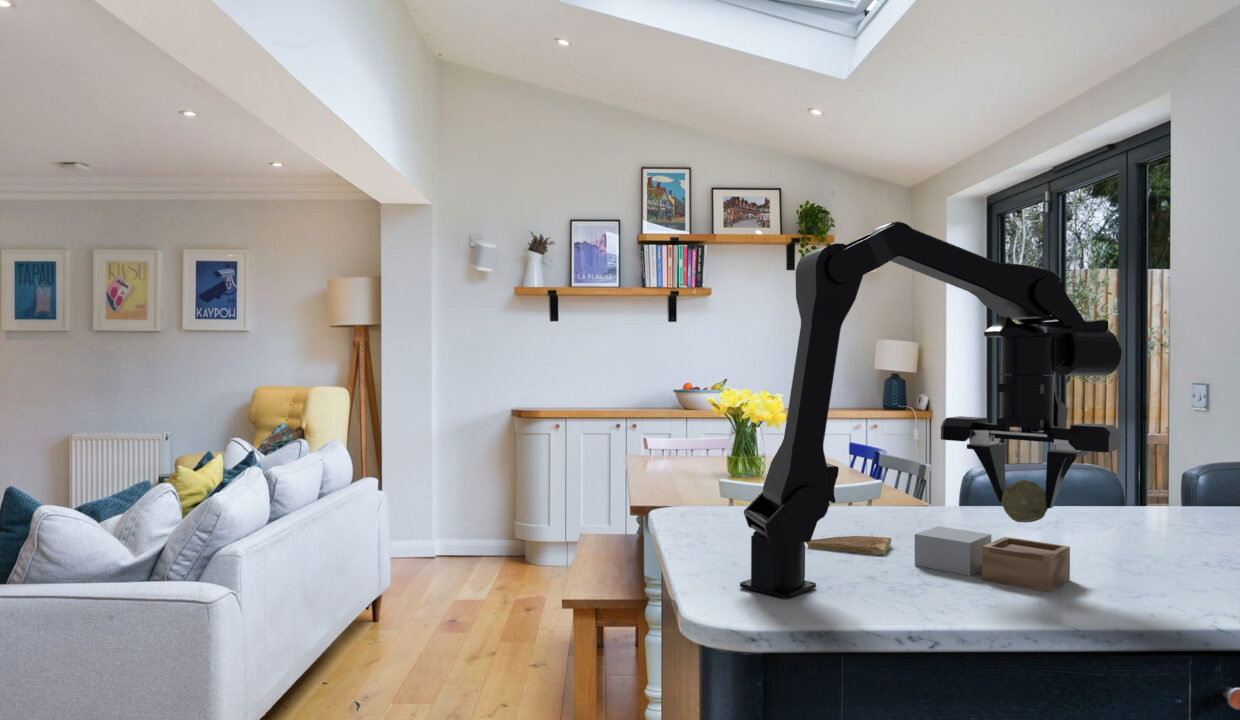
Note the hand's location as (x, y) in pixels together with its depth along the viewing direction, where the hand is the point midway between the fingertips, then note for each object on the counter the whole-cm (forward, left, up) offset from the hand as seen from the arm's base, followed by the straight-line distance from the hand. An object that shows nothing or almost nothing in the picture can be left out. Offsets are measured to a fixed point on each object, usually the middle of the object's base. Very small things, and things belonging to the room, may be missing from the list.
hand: (1025, 504), depth 98 cm
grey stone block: (+1, +9, -9) cm, 13 cm away
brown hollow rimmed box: (0, 0, -9) cm, 9 cm away
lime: (0, 0, -2) cm, 2 cm away
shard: (0, +22, -10) cm, 24 cm away
